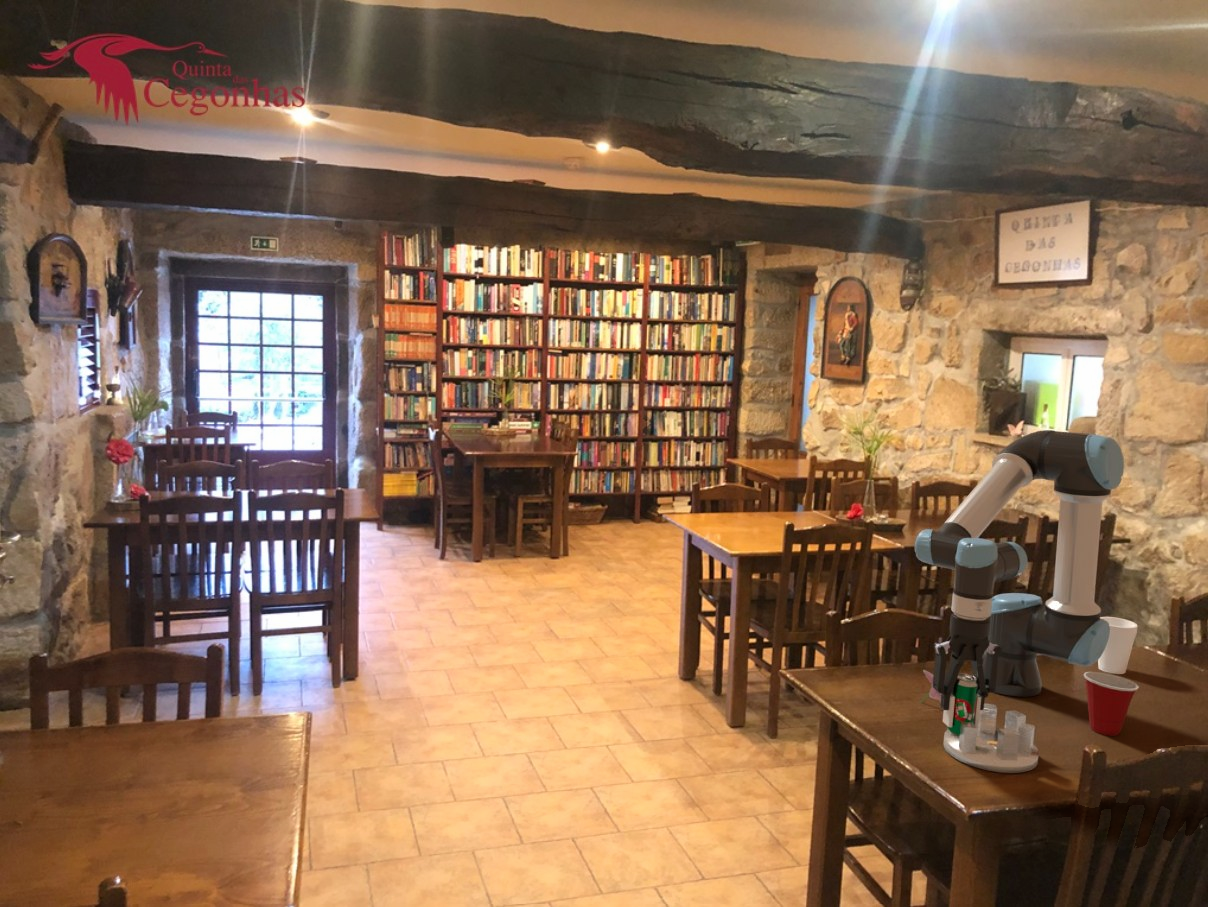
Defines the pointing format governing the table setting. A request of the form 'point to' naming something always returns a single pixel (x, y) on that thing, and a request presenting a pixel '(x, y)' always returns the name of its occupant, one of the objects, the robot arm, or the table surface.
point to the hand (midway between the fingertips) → (960, 724)
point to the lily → (933, 692)
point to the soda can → (964, 701)
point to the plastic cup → (1108, 701)
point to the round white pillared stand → (995, 743)
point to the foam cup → (1117, 645)
